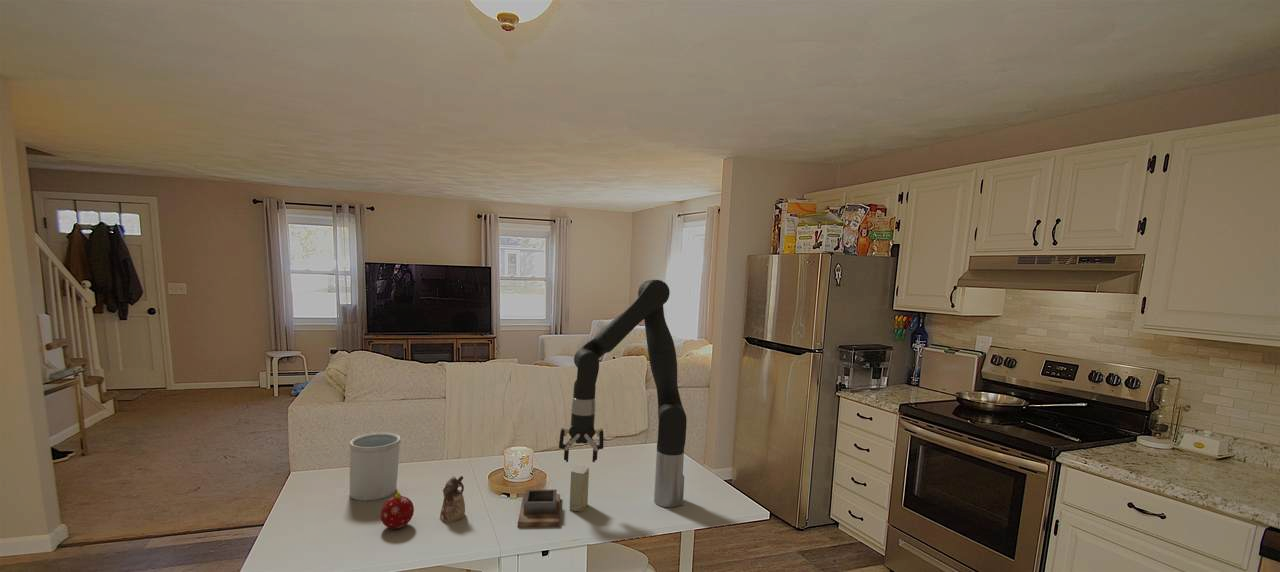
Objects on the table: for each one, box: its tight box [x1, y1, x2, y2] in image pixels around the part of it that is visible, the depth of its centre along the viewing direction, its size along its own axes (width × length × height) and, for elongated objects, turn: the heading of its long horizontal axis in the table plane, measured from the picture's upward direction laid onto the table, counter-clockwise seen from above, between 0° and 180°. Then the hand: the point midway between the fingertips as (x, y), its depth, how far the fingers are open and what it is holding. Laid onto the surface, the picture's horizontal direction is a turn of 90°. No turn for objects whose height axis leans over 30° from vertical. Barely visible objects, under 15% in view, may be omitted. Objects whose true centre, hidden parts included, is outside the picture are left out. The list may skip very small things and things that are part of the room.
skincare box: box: [569, 465, 590, 512], centre depth 163 cm, size 6×4×12 cm
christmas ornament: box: [380, 491, 415, 530], centre depth 145 cm, size 9×9×10 cm
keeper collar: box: [523, 489, 558, 515], centre depth 158 cm, size 10×10×4 cm
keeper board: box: [517, 493, 561, 528], centre depth 158 cm, size 12×19×2 cm, turn 8°
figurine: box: [439, 475, 466, 523], centre depth 152 cm, size 7×7×12 cm
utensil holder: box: [349, 432, 402, 502], centre depth 166 cm, size 15×15×18 cm
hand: (580, 461), depth 163 cm, fingers open, 8 cm apart
